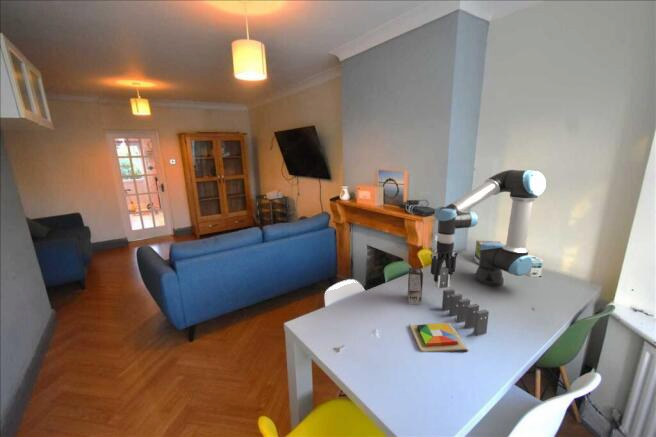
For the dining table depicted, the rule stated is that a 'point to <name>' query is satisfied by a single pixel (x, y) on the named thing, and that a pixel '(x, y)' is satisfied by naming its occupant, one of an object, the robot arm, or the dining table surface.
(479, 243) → the tea box
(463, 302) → the domino
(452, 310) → the domino
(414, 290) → the coffee box
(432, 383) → the dining table surface
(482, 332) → the domino
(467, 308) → the domino
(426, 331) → the wooden puzzle
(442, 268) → the domino
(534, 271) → the light bulb box
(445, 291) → the domino
